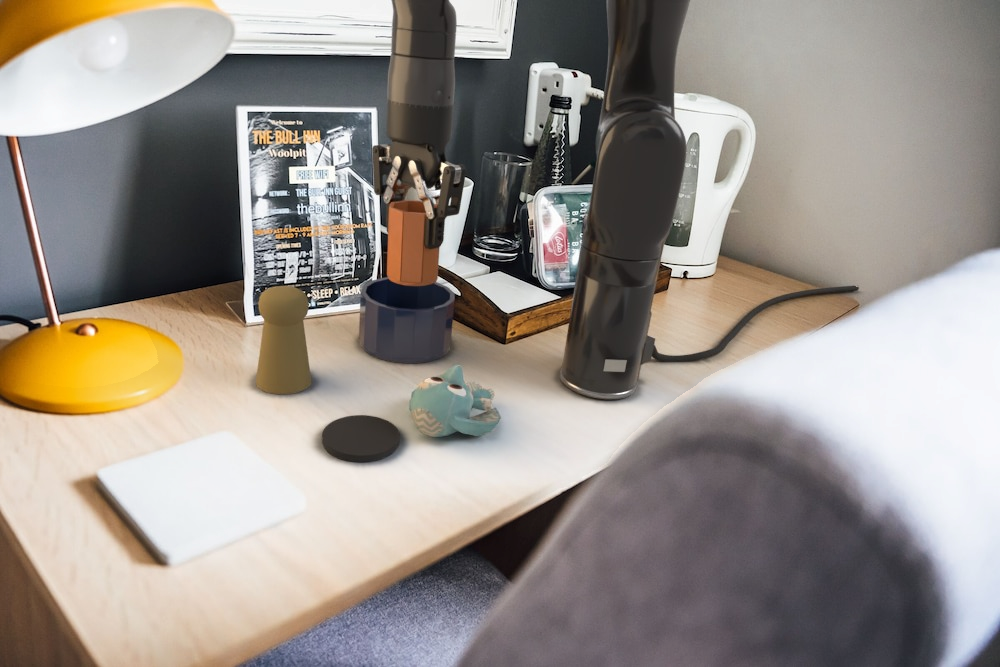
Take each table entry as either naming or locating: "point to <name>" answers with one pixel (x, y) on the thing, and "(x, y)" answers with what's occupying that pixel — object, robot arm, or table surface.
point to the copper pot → (410, 246)
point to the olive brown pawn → (283, 341)
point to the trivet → (360, 438)
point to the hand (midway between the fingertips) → (413, 239)
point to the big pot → (405, 321)
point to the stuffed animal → (452, 405)
